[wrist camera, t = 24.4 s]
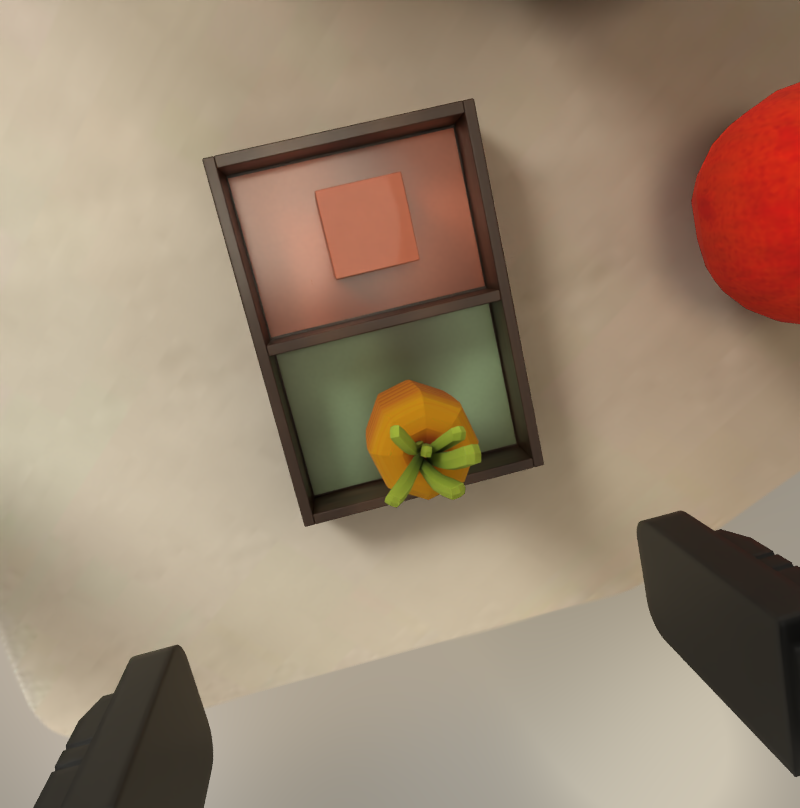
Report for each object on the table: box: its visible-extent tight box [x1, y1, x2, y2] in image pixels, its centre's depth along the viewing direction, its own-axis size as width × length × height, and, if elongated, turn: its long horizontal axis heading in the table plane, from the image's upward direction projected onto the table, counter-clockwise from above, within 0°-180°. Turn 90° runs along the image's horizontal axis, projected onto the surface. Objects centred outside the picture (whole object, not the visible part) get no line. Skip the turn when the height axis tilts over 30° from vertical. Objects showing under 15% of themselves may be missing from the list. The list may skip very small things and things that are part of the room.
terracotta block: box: [315, 172, 420, 279], centre depth 36 cm, size 4×4×4 cm
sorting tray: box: [203, 98, 544, 527], centre depth 38 cm, size 14×20×4 cm
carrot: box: [366, 380, 481, 508], centre depth 32 cm, size 5×5×15 cm
